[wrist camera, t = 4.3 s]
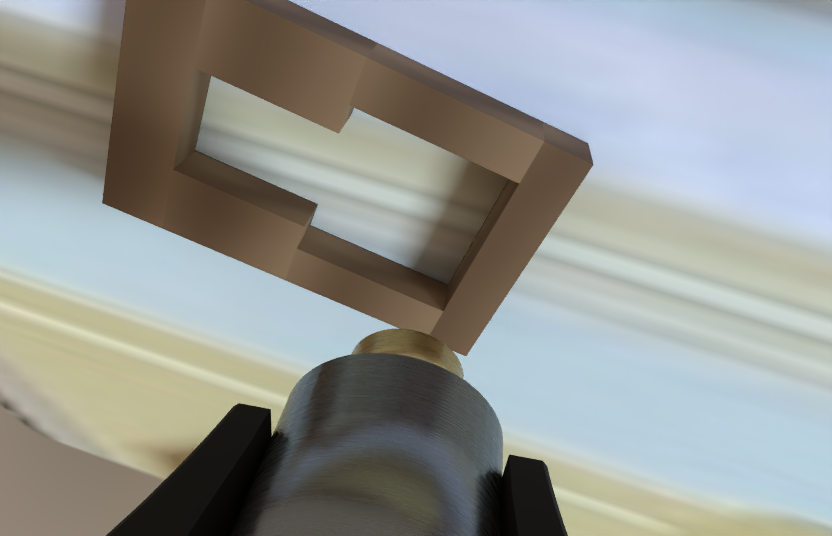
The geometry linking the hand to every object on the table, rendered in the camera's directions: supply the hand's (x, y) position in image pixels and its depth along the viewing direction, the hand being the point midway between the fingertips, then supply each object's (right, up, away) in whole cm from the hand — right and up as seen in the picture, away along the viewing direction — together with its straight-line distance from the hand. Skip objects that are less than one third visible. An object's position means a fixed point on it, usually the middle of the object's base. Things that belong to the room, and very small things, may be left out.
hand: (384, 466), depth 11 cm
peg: (0, +1, +2) cm, 3 cm away
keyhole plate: (-2, +7, +8) cm, 11 cm away
